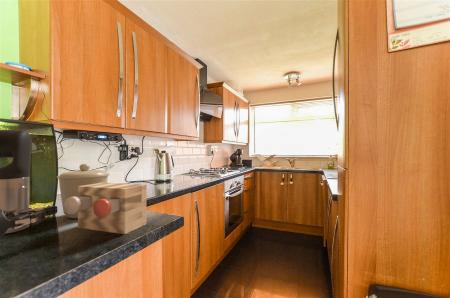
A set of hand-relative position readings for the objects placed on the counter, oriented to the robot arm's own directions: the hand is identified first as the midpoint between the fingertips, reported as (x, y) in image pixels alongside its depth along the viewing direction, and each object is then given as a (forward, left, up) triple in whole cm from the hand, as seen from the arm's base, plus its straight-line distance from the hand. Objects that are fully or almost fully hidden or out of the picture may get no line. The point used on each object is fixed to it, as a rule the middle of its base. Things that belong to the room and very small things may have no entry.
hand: (55, 209), depth 62 cm
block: (+6, +15, -9) cm, 18 cm away
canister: (-16, +22, -9) cm, 29 cm away
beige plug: (0, +9, -3) cm, 9 cm away
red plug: (+12, +8, -3) cm, 15 cm away
